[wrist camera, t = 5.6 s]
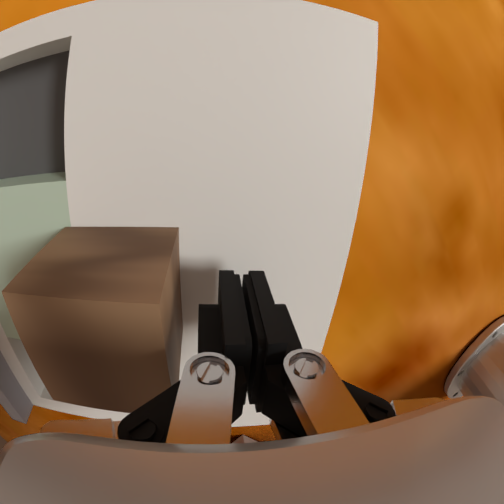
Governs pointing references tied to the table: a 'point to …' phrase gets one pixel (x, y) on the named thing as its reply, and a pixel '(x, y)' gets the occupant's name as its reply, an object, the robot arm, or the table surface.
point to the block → (102, 315)
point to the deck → (187, 150)
